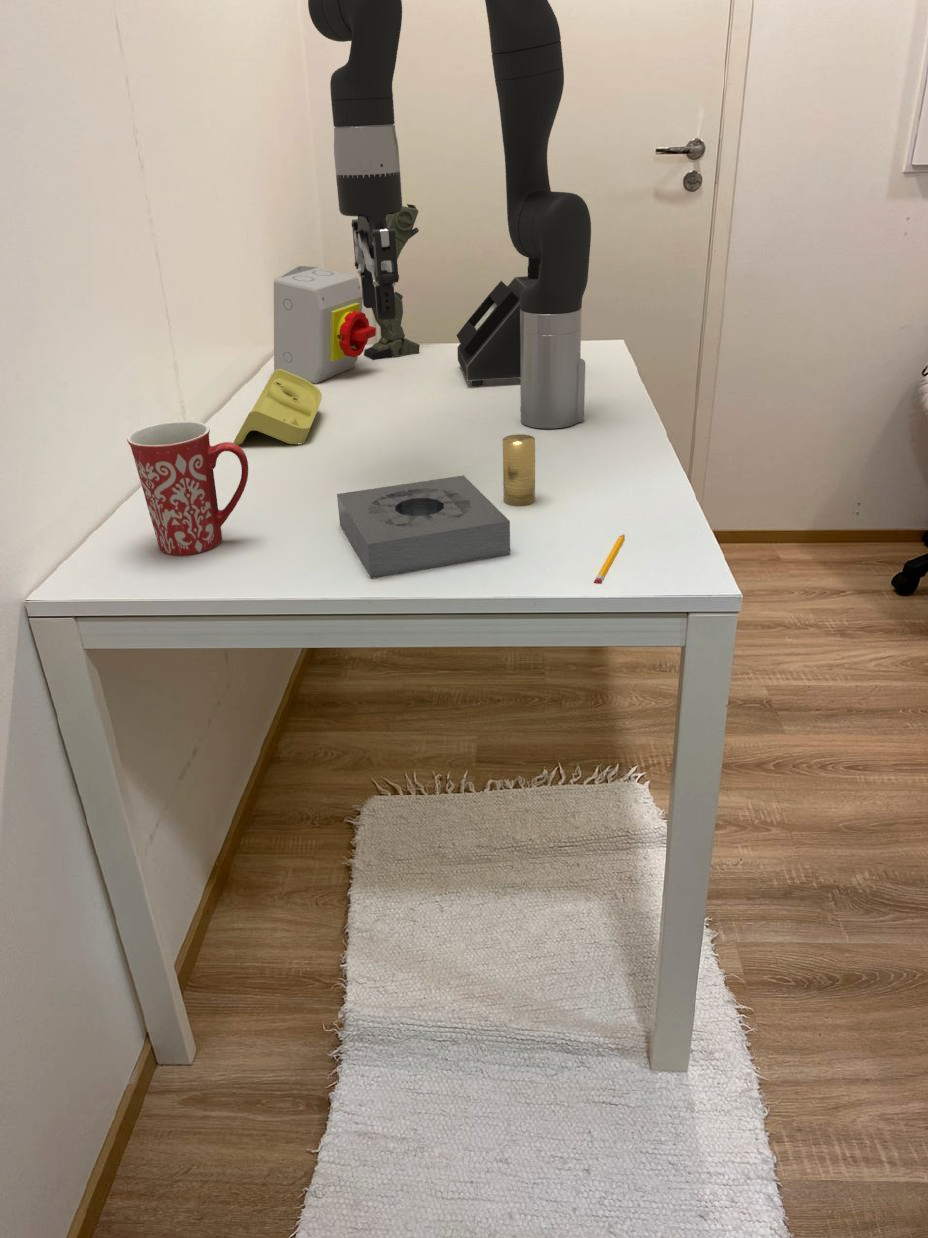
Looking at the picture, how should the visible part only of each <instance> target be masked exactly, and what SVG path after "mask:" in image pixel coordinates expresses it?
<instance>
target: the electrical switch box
mask: <svg viewBox="0 0 928 1238" xmlns="http://www.w3.org/2000/svg"><path fill="white" fill-rule="evenodd" d="M360 284H361V282H360V281H359V277H358V276H357V275H353V274H350V273H346V272H341V271H337V270H331V269H328V268H323V267H319V266H312V265H311V266H310V265H298V264H297V265H296V264H295V266H293V267H291V268H289V269H288V270H286V271H285V272H283V273H281V274H279V275H278V276H276V277H275V278H274V280H273V372H274V371H275V370H277V369H282V370H285V371H287V372H290V373H292V374H294V375H297V376H299V377H301V378H303V379H305V380H307V381H309V382H311V383H312V384H314V385H316V384H320V383H321V382H324V381H326V380H329V379H331V378H333V377H335V376H337V375H340V374H342V373H344V372H346V371H348V370H350V369H353V368H354V367H355V366H356V363H357V361H358V358H359V356H362V353H364V350H365V348H366V345H367V343H368V341H369V339H371V338H374V337H375V336H376V334H377V333H376V332H377V330H376V329H377V328H376V327H375V326H372V325H371V326H370V322H369V319H368V317H367V315H366V313H364V312H363V297H362V286H361V285H360Z"/></svg>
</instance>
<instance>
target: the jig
mask: <svg viewBox="0 0 928 1238" xmlns="http://www.w3.org/2000/svg"><path fill="white" fill-rule="evenodd" d="M336 497H337V498H336V499H337V507H338V508H337V509H338V516H339V517H338V518H339V525H340V527H341V529H342V530H343V533H344V534H345V536H346V538H347V539H348V542H349V543H350V545H351V546H352V548H353V550H354V552H355V553H356V555H357V557H358V558H359V560H360V562H361V564H362V565H363V567H364V569H365V570H366V573H367V574H368V576H369V577H370V579H375V578H380V577H381V578H382V577H386V576H393V575H398V574H403V573H410V572H416V571H420V570H426V569H427V570H428V569H433V568H434V569H435V568H439V567H443V566H444V567H445V566H450V565H456V564H461V563H467V562H468V563H469V562H473V561H478V560H485V559H490V558H491V559H492V558H496V557H497V558H498V557H503V556H508V555H511V520H510V519H509V518H507V517H506V516H505V515H504V514H503V512H502V511H500V510H499V509H498V508H497V507H496V506H495V505H494V504H493V502H491V501H490V500H489V499H488V498H487V497H486V496H485V495H484V494H483V493H482V492H481V491H480V490H479V489H478V488H477V487H476V486H475V485H474V484H473V483H472V482H471V481H470V480H469V479H468V478H467V477H466V476H465V475H456V476H452V477H451V476H450V477H444V478H437V479H430V480H423V481H417V482H416V481H415V482H409V483H402V484H396V485H387V486H383V487H382V486H381V487H377V488H376V487H375V488H370V489H361V490H355V491H347V492H341V493H340V492H339V493H336Z"/></svg>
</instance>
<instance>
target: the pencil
mask: <svg viewBox="0 0 928 1238" xmlns="http://www.w3.org/2000/svg"><path fill="white" fill-rule="evenodd" d="M624 542H625V534H624V533H622V534H621V535H620V536H618V538H617V539H616V542H615V543H614V545H613V547H612V549H611V550H610V552H609V554H608V556H607V558H606V560H605V561H604V563H603V565H602V567H601V569H600V570H599V572H598V574H597V576H596V578H595V579H594V581H593V584H598V585H599V584H602V582H603V581H604V579H605V577H606V576H607V573H608V572H609V569H610V567H612V564H613V562H614V561H615V558H616V557H617V555H618V554H619V551H620V549H621V548H622V545H623V544H624Z"/></svg>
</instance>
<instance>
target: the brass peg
mask: <svg viewBox="0 0 928 1238" xmlns="http://www.w3.org/2000/svg"><path fill="white" fill-rule="evenodd" d="M502 483H503V484H502V485H503V489H502V490H503V503H504V504H506V505H508V506H513V507H525V506H530V505H532V504H534V503H535V501H536V437H534V436H532V435H530V434H523V433H522V434H519V433H518V434H517V433H516V434H510V435H507V436H504V437H503V438H502Z"/></svg>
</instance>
